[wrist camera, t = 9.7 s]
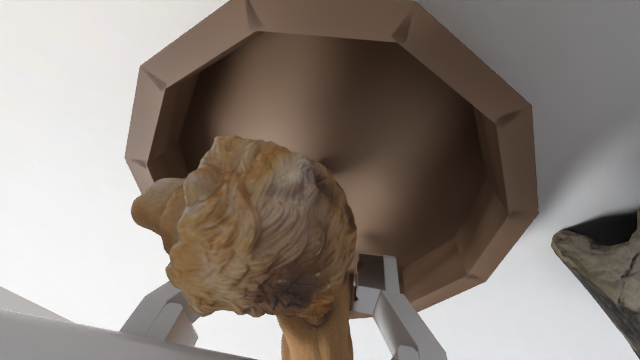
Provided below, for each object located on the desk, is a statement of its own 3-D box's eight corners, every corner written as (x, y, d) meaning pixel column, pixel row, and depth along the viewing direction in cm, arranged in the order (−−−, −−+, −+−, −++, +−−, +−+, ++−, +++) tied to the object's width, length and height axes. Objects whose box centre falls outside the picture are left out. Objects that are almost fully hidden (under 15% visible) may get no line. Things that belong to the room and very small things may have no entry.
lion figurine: (201, 125, 12) (-13, 235, 4) (311, 91, 12) (348, 123, 3) (298, 332, 18) (302, 563, 9) (374, 311, 17) (446, 525, 9)
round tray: (594, 12, 9) (689, 20, 6) (432, 291, 20) (442, 337, 17) (121, -21, 11) (38, -25, 8) (209, 254, 21) (187, 291, 19)
